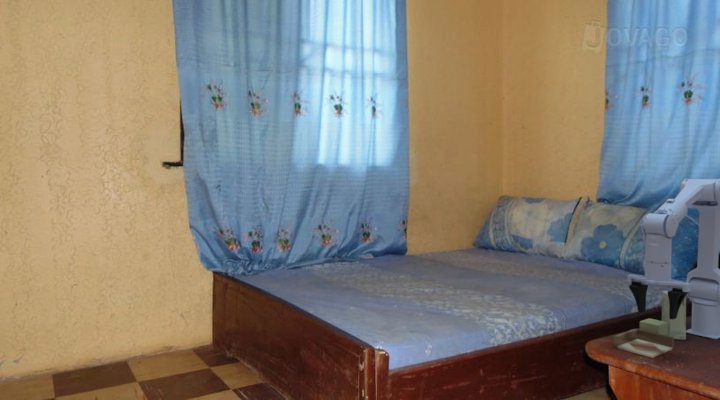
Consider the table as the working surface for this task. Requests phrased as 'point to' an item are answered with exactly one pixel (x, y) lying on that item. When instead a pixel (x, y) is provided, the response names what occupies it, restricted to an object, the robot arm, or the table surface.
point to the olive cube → (654, 326)
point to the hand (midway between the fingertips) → (657, 315)
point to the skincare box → (677, 325)
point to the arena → (644, 342)
